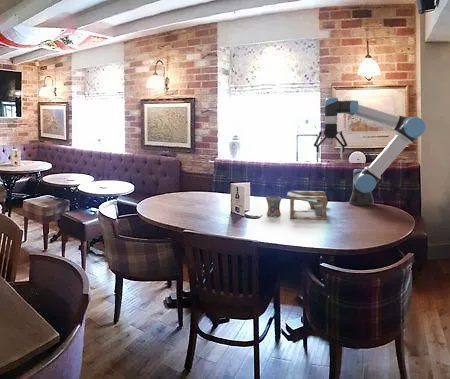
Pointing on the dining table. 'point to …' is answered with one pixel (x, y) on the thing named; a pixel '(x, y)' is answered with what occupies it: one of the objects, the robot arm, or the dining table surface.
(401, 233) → the dining table surface
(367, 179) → the robot arm
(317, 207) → the stone
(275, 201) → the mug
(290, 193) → the trapdoor
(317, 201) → the rock
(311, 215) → the mat
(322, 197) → the frame
